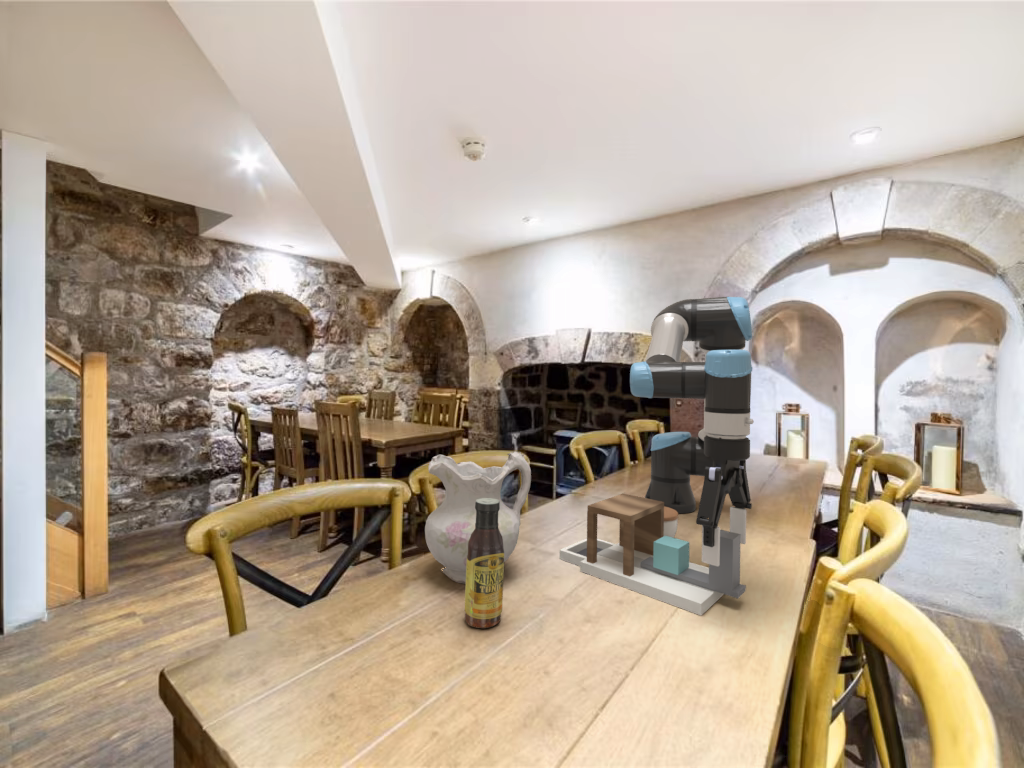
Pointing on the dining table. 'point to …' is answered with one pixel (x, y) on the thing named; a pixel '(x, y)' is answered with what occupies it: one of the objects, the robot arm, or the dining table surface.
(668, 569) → the block
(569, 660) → the dining table surface
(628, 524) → the tunnel
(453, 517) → the ceramic pitcher
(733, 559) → the grey l-shaped piece
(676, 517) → the lidded jar
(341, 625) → the dining table surface
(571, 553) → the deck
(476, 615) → the sauce bottle
